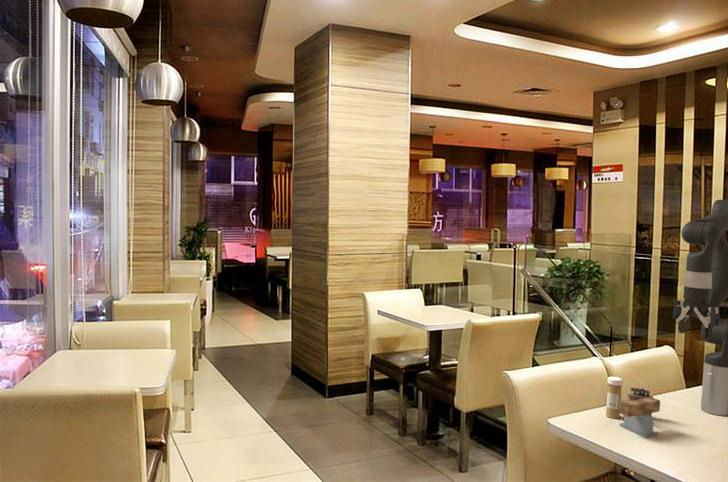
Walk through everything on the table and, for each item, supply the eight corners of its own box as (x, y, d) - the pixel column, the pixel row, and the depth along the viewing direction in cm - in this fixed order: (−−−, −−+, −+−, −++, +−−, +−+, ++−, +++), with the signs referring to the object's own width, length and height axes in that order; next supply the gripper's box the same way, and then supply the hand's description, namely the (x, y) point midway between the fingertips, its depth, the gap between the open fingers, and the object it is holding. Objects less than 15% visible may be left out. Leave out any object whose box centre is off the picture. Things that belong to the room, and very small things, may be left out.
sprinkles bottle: (622, 417, 197) (625, 378, 196) (614, 419, 195) (617, 381, 194) (610, 413, 201) (613, 375, 200) (602, 415, 199) (605, 377, 198)
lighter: (651, 416, 199) (653, 388, 198) (652, 419, 196) (654, 391, 195) (625, 412, 202) (627, 384, 201) (626, 416, 199) (628, 387, 198)
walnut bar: (651, 408, 190) (651, 397, 190) (659, 411, 187) (660, 400, 187) (619, 413, 185) (620, 402, 184) (628, 417, 182) (628, 405, 181)
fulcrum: (630, 423, 192) (631, 406, 191) (656, 435, 183) (658, 417, 182) (619, 425, 190) (620, 408, 189) (645, 437, 181) (646, 419, 180)
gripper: (727, 288, 177) (723, 340, 178) (685, 281, 190) (682, 330, 191) (711, 289, 174) (707, 342, 175) (669, 282, 187) (666, 331, 188)
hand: (694, 336), depth 183 cm, fingers open, 8 cm apart
